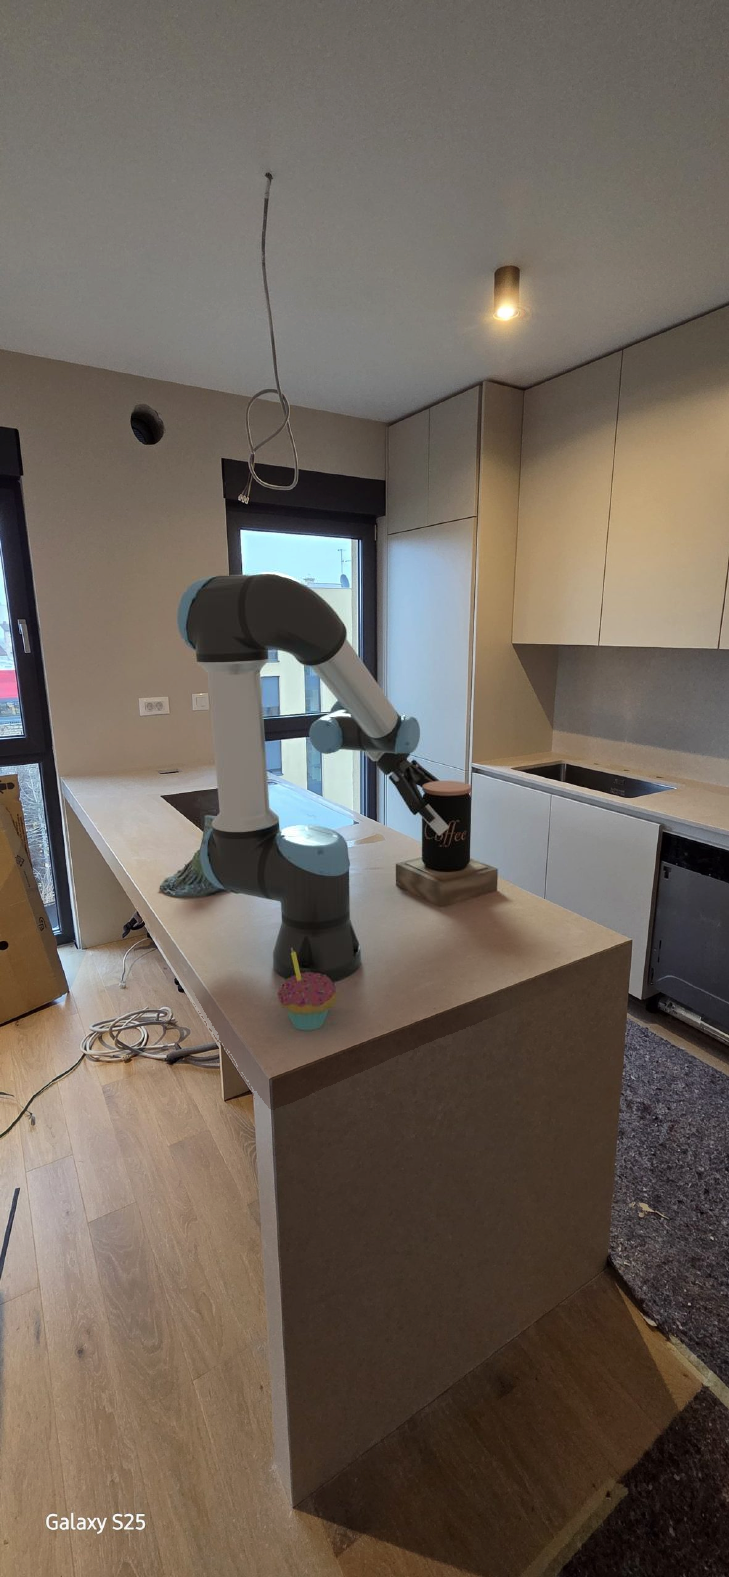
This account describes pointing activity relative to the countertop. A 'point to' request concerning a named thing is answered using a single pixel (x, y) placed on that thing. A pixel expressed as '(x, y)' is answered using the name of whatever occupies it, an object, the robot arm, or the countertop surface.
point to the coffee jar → (456, 813)
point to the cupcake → (307, 997)
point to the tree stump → (191, 875)
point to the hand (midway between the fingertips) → (452, 823)
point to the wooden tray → (446, 881)
